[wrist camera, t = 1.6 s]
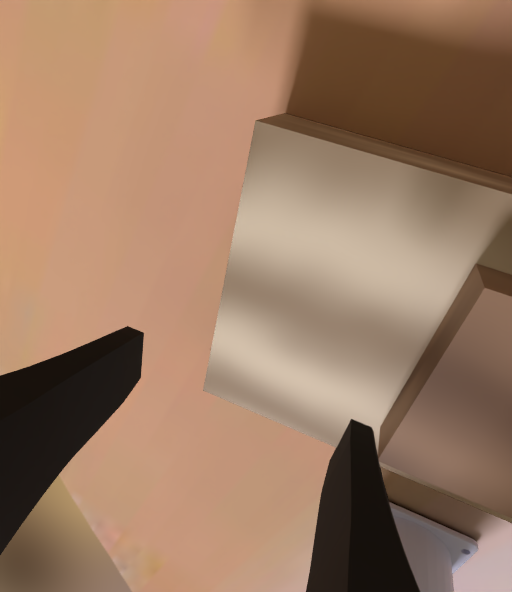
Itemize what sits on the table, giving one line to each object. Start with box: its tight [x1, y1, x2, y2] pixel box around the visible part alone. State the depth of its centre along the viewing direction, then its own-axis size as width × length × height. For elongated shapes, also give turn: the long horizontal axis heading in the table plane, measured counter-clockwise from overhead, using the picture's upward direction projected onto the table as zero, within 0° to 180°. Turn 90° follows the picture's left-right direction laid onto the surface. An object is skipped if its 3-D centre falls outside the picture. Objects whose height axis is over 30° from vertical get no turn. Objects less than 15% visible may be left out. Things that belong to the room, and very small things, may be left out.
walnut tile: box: [378, 263, 512, 518], centre depth 15 cm, size 9×6×2 cm, turn 168°
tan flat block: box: [203, 113, 512, 523], centre depth 18 cm, size 14×20×4 cm
